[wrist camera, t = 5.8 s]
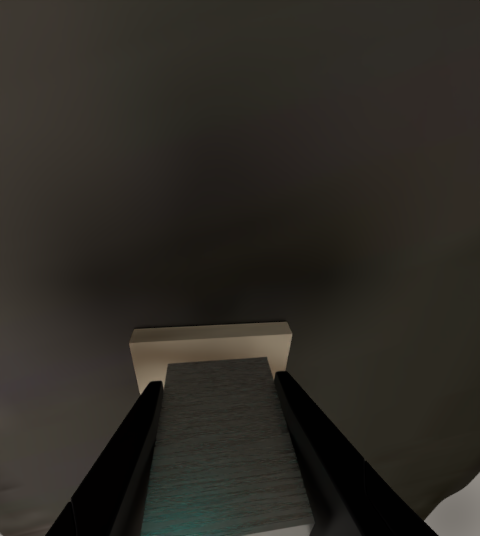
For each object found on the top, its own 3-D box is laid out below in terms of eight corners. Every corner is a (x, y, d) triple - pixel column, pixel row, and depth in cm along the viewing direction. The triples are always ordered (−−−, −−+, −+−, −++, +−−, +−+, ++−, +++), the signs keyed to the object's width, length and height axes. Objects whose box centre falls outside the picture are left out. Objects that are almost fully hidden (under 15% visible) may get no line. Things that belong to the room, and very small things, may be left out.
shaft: (245, 503, 17) (261, 633, 12) (186, 512, 16) (179, 652, 12) (267, 356, 10) (314, 523, 6) (167, 363, 10) (137, 553, 5)
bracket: (260, 467, 26) (291, 648, 17) (163, 480, 25) (140, 684, 15) (287, 321, 17) (388, 544, 8) (134, 329, 15) (29, 614, 6)
